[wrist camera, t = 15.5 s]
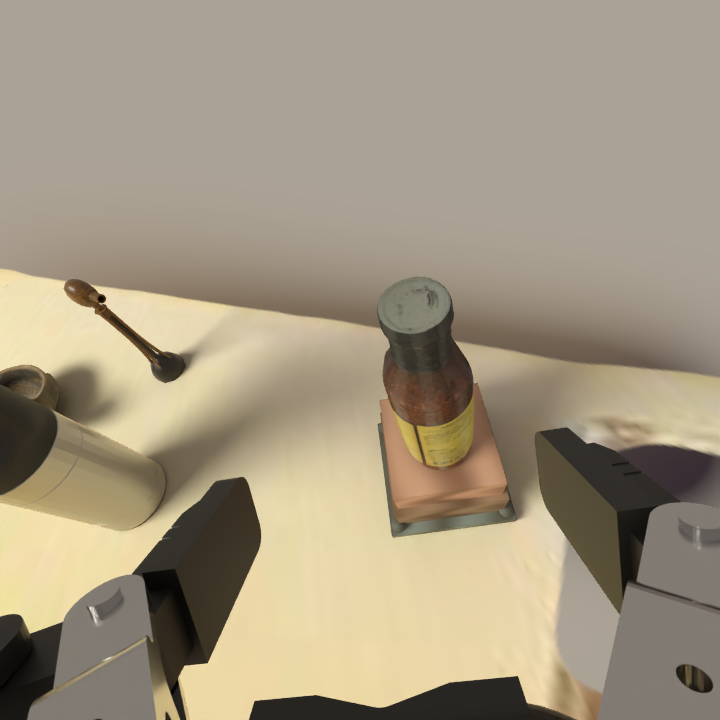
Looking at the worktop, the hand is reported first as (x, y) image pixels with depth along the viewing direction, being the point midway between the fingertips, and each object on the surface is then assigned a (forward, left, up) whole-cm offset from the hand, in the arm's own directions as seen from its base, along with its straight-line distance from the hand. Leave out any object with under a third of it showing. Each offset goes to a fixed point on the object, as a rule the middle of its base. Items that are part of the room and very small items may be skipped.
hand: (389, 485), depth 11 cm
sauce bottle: (+2, +11, -25) cm, 27 cm away
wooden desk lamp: (-35, +33, -35) cm, 60 cm away
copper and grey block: (+3, +11, -35) cm, 37 cm away
